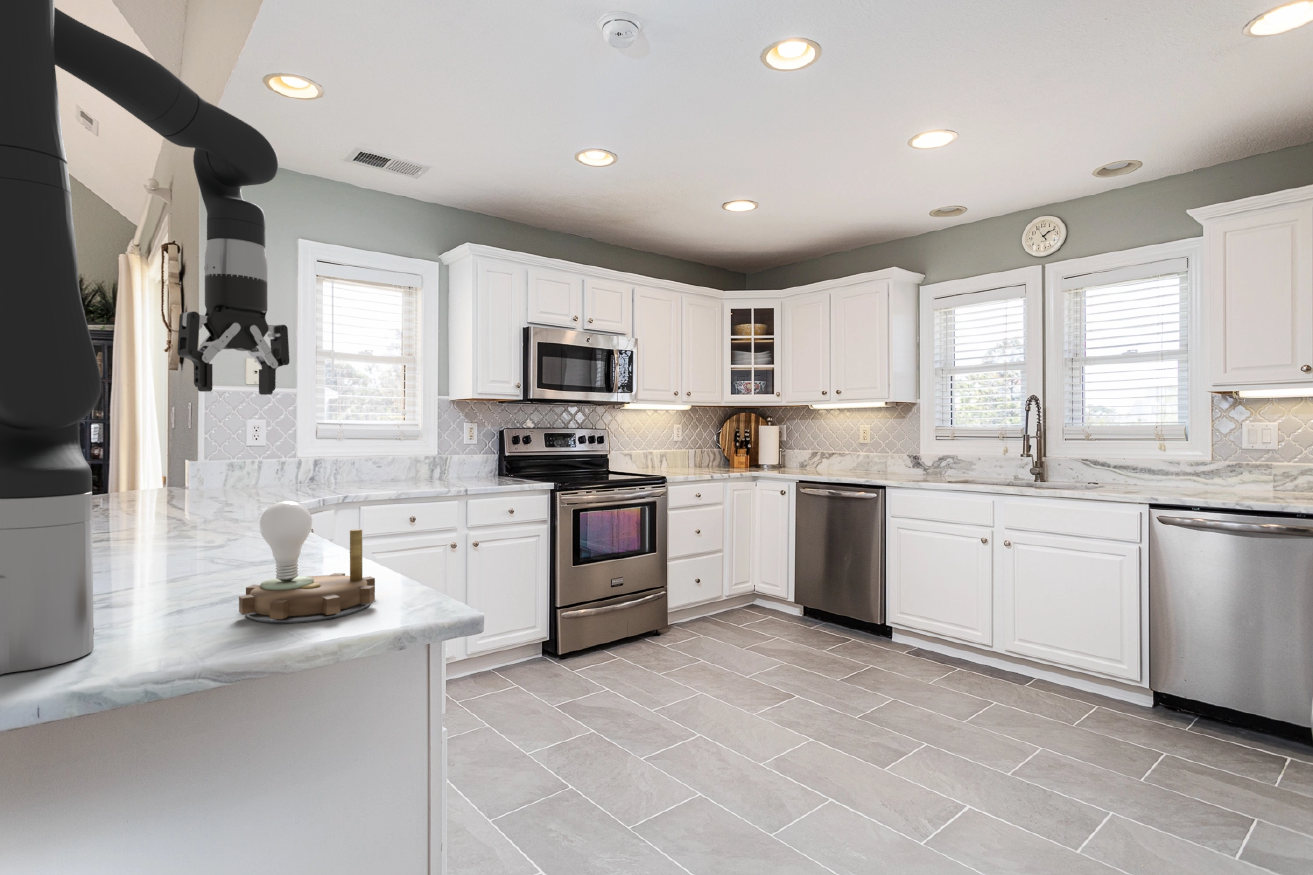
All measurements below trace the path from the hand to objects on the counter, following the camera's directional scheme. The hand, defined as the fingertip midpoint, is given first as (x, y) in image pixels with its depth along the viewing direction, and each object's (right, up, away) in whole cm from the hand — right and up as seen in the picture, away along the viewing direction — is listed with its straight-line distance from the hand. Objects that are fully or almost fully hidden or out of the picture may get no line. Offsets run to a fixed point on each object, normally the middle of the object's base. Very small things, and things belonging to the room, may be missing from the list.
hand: (236, 393), depth 97 cm
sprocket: (+12, -29, -4) cm, 32 cm away
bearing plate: (+12, -29, -4) cm, 32 cm away
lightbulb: (+9, -26, -3) cm, 28 cm away
